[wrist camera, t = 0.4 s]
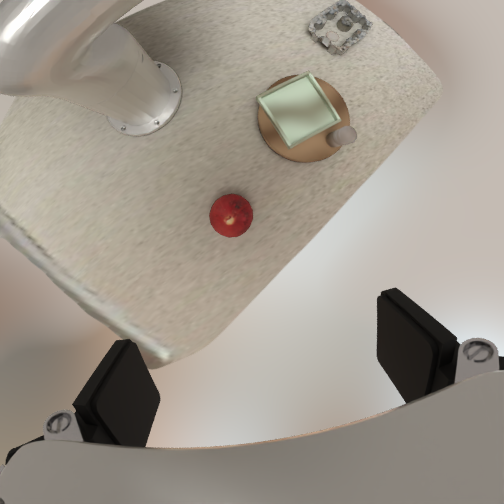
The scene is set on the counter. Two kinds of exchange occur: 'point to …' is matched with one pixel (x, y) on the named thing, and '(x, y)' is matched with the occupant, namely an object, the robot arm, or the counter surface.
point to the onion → (231, 215)
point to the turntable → (304, 118)
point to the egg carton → (339, 26)
